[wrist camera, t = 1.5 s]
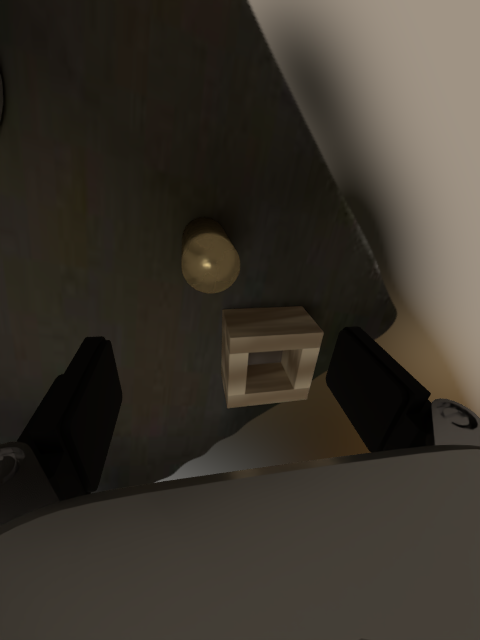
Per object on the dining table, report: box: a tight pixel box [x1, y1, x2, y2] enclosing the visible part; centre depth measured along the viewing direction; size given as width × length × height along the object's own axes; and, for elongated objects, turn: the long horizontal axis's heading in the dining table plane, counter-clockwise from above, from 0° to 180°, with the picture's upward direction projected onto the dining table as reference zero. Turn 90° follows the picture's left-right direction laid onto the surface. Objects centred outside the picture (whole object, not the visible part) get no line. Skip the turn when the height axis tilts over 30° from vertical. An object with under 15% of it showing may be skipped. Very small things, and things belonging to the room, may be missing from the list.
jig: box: [221, 306, 324, 408], centre depth 32 cm, size 10×10×6 cm
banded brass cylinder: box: [182, 217, 240, 293], centre depth 23 cm, size 4×4×8 cm
